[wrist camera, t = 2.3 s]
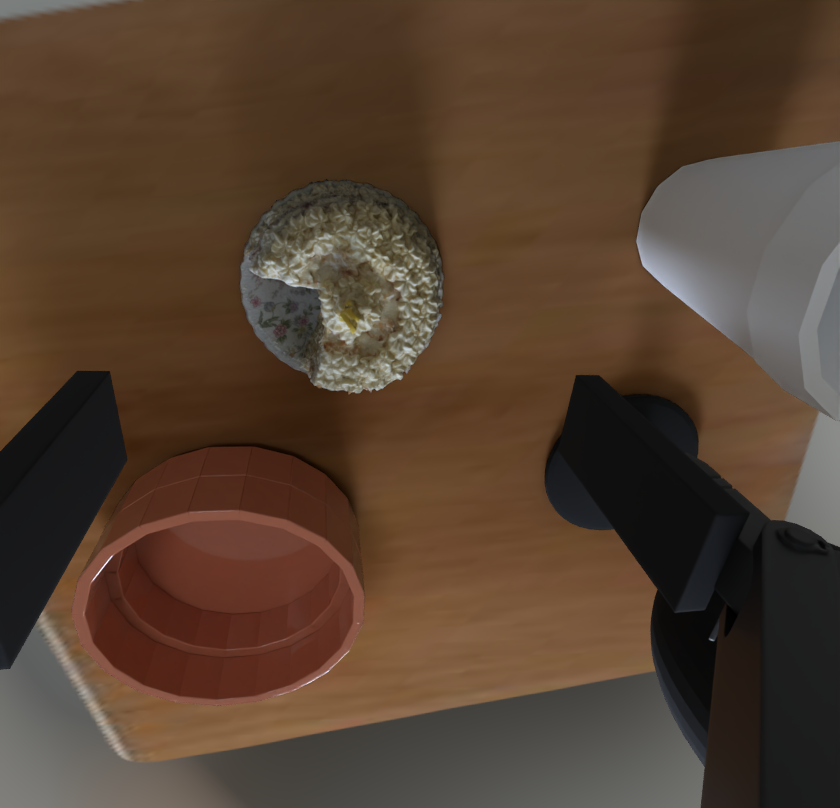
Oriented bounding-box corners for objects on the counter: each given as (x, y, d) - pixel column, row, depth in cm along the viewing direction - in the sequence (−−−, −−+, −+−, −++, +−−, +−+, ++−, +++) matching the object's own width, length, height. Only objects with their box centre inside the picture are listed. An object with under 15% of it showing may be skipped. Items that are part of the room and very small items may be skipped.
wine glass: (677, 519, 38) (975, 860, 20) (535, 534, 36) (723, 912, 19) (713, 387, 33) (1147, 683, 15) (552, 398, 32) (825, 735, 14)
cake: (383, 136, 24) (407, 134, 19) (470, 320, 29) (506, 355, 24) (194, 245, 24) (172, 270, 20) (311, 410, 29) (317, 462, 24)
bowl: (92, 442, 28) (40, 517, 23) (361, 439, 31) (369, 505, 26) (135, 627, 35) (102, 717, 30) (354, 611, 37) (359, 692, 32)
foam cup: (627, 123, 25) (872, 119, 14) (804, 123, 26) (1166, 119, 15) (596, 317, 29) (762, 437, 18) (749, 309, 31) (996, 418, 19)
